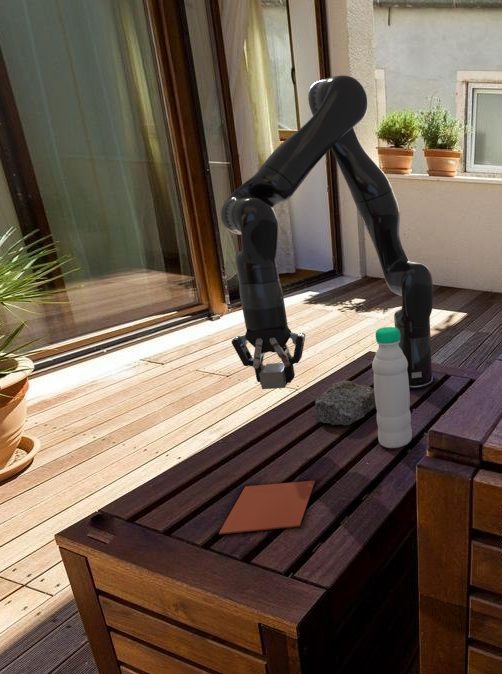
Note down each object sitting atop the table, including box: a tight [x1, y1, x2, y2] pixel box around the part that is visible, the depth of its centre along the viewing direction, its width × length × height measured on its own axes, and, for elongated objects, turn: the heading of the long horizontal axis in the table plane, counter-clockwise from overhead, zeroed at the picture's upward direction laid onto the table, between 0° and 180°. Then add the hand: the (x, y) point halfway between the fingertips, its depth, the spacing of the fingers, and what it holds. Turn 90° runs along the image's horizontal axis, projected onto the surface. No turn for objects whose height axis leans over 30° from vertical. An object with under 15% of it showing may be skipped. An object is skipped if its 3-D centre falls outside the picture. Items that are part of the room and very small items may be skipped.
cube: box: [259, 362, 288, 390], centre depth 98 cm, size 5×4×4 cm
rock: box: [314, 379, 376, 426], centre depth 111 cm, size 13×6×15 cm
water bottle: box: [371, 326, 413, 449], centre depth 96 cm, size 7×7×25 cm
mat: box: [218, 480, 316, 535], centre depth 80 cm, size 12×12×1 cm
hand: (276, 382), depth 98 cm, fingers closed on cube, 4 cm apart
